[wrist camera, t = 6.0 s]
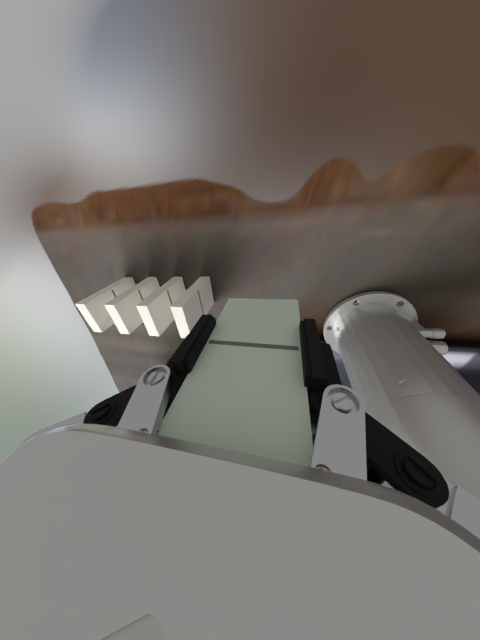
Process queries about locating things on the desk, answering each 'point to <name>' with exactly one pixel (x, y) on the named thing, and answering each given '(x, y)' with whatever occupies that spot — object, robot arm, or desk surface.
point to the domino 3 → (160, 306)
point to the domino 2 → (130, 305)
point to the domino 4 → (192, 305)
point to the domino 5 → (248, 385)
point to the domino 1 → (95, 303)
